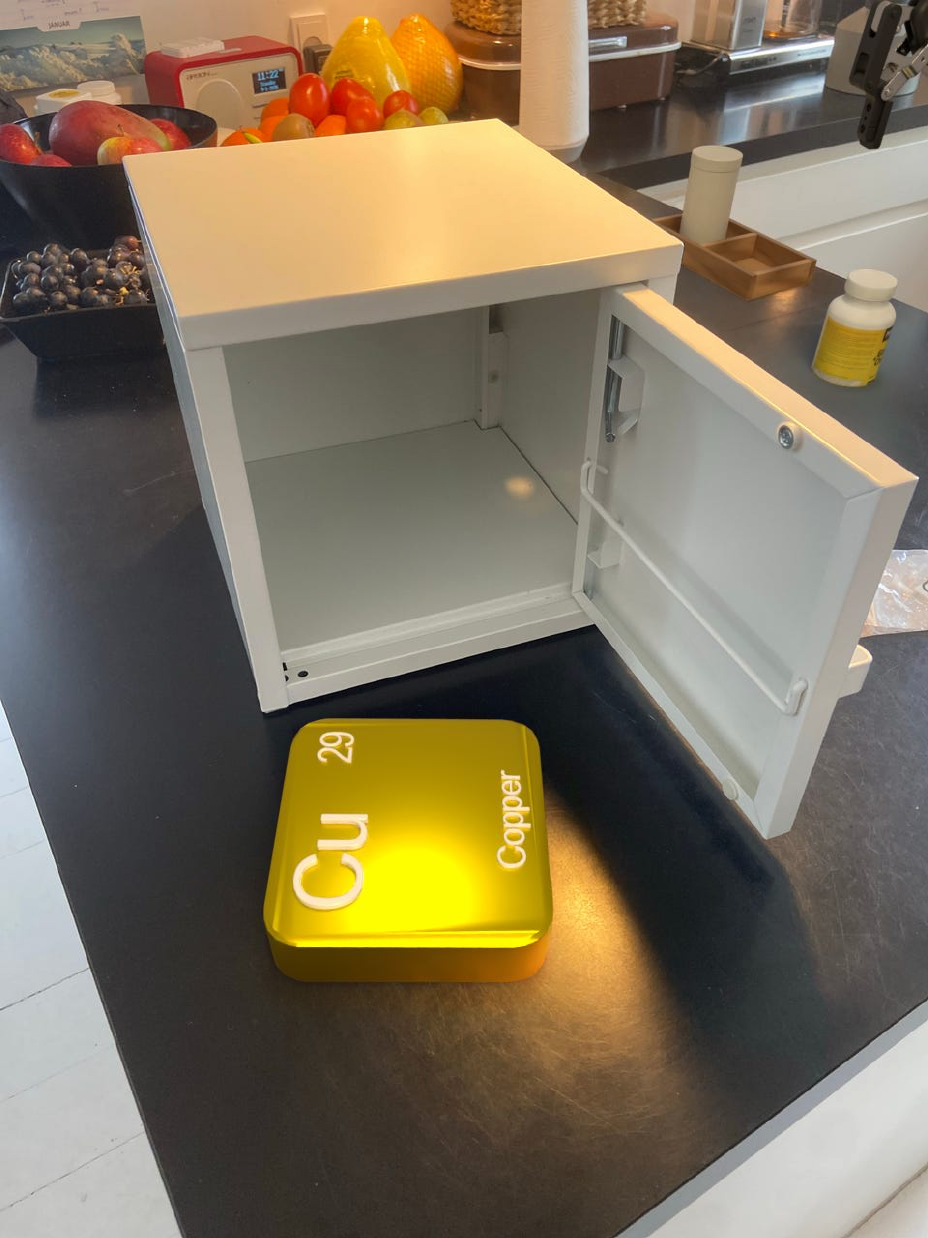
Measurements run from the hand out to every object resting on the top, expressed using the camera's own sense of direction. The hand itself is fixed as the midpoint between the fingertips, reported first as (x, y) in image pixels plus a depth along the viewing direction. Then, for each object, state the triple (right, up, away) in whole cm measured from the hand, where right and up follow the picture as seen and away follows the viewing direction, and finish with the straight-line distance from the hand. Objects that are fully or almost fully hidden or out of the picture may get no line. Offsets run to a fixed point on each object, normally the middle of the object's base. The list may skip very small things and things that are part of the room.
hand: (913, 144), depth 78 cm
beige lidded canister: (-7, +9, +44) cm, 45 cm away
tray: (-5, +5, +41) cm, 42 cm away
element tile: (-42, -55, -24) cm, 73 cm away
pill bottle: (+1, -16, +18) cm, 24 cm away
